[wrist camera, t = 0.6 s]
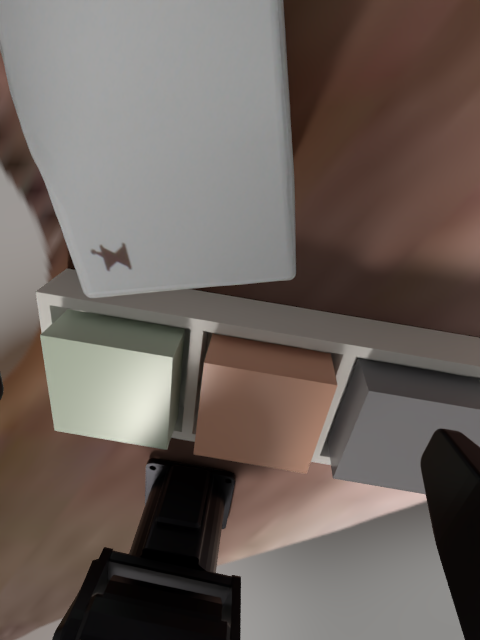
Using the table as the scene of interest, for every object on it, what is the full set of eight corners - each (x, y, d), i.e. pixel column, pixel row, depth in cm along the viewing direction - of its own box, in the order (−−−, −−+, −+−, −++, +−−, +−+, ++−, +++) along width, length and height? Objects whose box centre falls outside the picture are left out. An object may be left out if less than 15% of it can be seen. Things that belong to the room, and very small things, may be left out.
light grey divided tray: (427, 444, 24) (445, 484, 21) (78, 384, 24) (54, 417, 22) (487, 338, 20) (518, 373, 17) (66, 268, 20) (35, 291, 18)
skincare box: (287, 182, 17) (300, 293, 7) (196, 191, 18) (77, 308, 7) (278, 14, 14) (278, -259, 4) (170, 32, 15) (-93, -159, 4)
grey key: (429, 458, 21) (446, 497, 19) (327, 441, 22) (333, 478, 19) (477, 378, 19) (503, 413, 16) (358, 358, 19) (368, 390, 16)
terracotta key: (303, 437, 22) (306, 473, 19) (201, 419, 22) (193, 454, 19) (330, 353, 19) (337, 385, 16) (212, 333, 19) (203, 362, 16)
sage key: (178, 415, 22) (167, 449, 19) (77, 398, 22) (54, 430, 20) (185, 328, 19) (172, 357, 16) (67, 309, 19) (40, 335, 17)
